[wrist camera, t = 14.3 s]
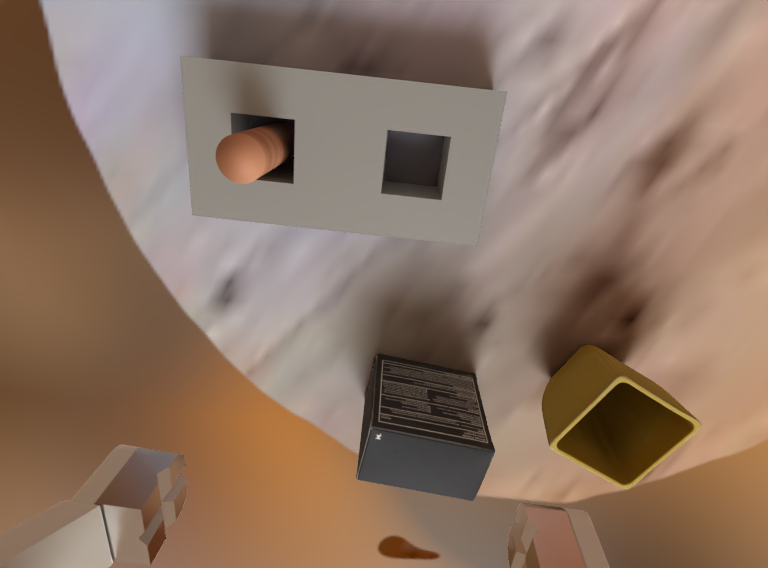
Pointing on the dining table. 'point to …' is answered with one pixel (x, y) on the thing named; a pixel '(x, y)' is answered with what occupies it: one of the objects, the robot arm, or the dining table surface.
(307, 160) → the hole block
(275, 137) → the peg
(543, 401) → the flower pot
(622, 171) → the dining table surface
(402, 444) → the small box
